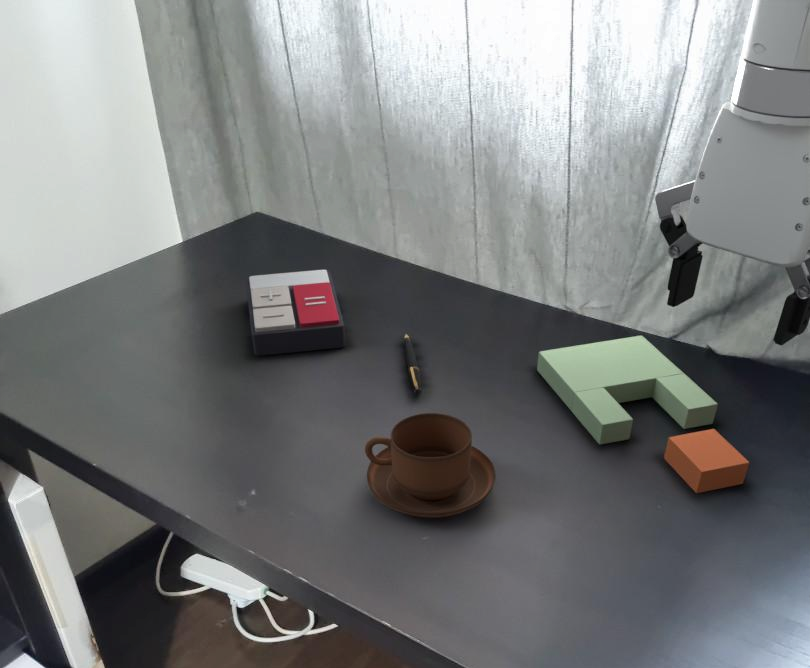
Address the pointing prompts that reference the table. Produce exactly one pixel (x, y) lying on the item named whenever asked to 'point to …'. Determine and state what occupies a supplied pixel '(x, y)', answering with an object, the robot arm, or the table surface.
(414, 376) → the fountain pen
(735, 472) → the orange block
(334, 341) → the calculator
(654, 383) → the base pad
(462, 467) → the cup and saucer
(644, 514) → the table surface
